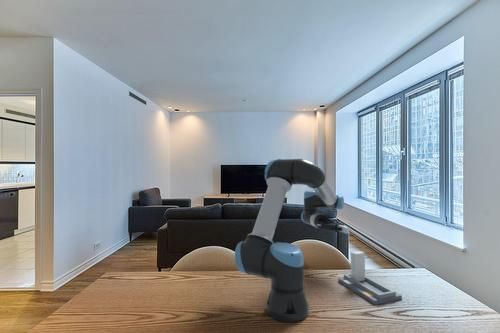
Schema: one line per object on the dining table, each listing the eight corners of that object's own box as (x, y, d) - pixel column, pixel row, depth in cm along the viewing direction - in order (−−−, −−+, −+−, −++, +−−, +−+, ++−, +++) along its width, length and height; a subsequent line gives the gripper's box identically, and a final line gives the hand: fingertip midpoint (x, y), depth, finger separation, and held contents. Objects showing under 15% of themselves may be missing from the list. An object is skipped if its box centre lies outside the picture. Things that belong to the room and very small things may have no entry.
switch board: (338, 281, 123) (338, 274, 123) (362, 277, 127) (362, 271, 127) (374, 304, 102) (374, 296, 102) (401, 299, 106) (401, 291, 106)
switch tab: (351, 279, 121) (350, 252, 121) (360, 277, 123) (360, 250, 123) (355, 281, 118) (355, 254, 118) (365, 280, 120) (364, 252, 120)
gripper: (330, 227, 151) (359, 237, 128) (309, 229, 147) (336, 240, 124) (330, 213, 151) (359, 221, 128) (309, 215, 147) (335, 223, 124)
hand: (348, 230), depth 127 cm, fingers closed
